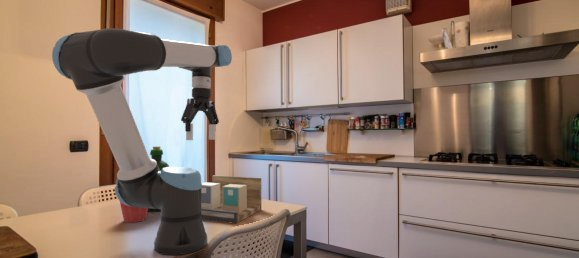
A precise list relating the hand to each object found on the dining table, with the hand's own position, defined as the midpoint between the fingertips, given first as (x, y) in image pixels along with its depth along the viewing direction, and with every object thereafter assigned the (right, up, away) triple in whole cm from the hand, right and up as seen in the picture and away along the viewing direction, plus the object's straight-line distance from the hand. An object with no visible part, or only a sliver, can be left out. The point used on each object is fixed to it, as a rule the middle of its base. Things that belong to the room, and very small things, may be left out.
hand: (201, 139), depth 124 cm
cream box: (+1, -29, +6) cm, 30 cm away
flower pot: (-25, -32, -5) cm, 40 cm away
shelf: (+9, -31, +4) cm, 33 cm away
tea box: (+13, -29, +2) cm, 32 cm away
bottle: (-23, -32, +10) cm, 40 cm away
